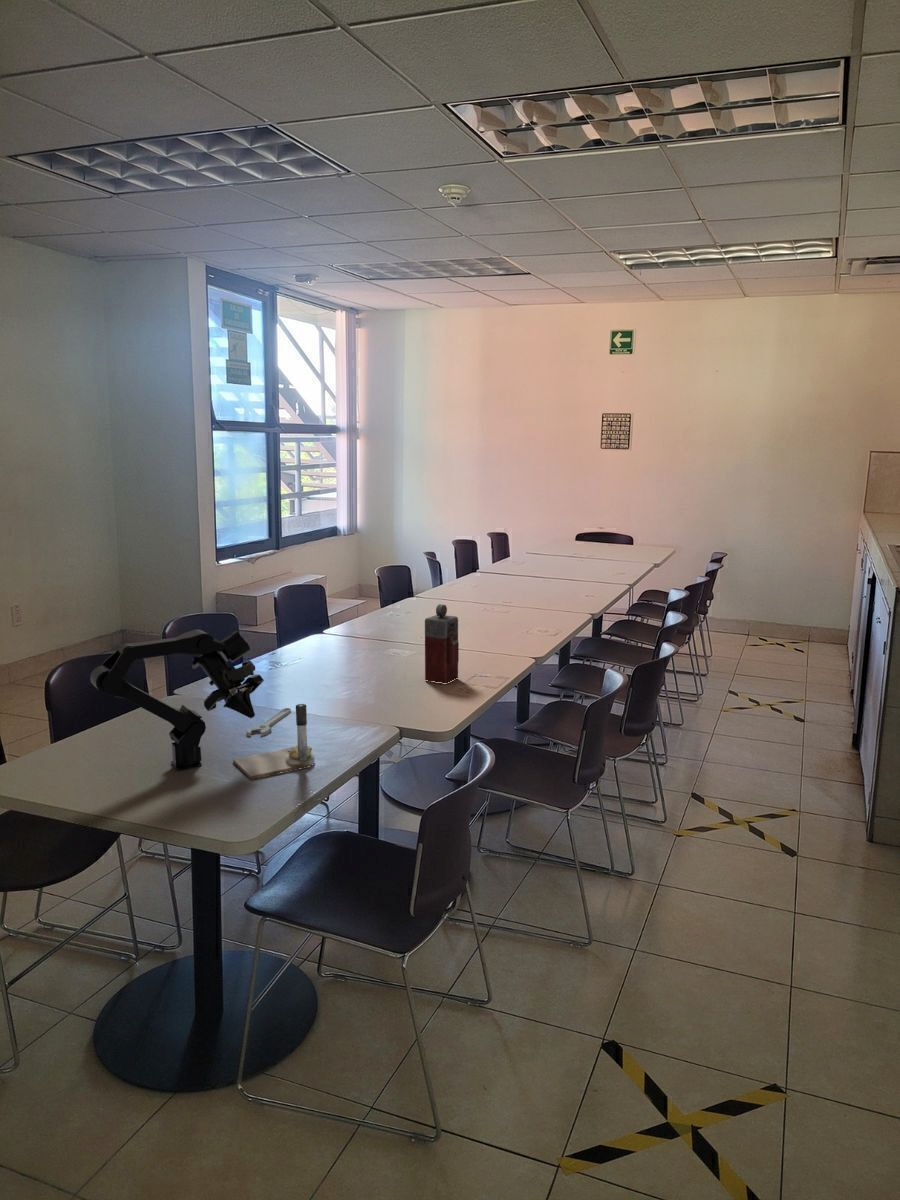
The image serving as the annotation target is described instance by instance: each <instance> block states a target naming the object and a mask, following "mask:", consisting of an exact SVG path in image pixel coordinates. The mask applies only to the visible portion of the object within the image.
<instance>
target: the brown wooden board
mask: <svg viewBox="0 0 900 1200" xmlns="http://www.w3.org/2000/svg"><path fill="white" fill-rule="evenodd" d="M289 748H290V747H288V748H283V749H279V750H273V751H269V752H263V753H259V754H254V755H248V756H244V757H239V758H235V759H232V761H233V762H232V763H233V764H234V766H236V767H237V769H239V770H240V771H241V772H242V771H243V772H244V773H245V774H244V773H243V772H242V773H243V774H244V775H245V776H246V777H248V779H249V780H251V779H253V780H256V779H255V778H258V779H261V778H260V777H262V778H265V777H264V776H267V777H269V776H268V775H272V776H274V775H273V774H276V775H278V774H277V773H280V772H285V773H287V772H286V771H290V770H294V771H296V770H295V769H299V768H304V767H308V766H311V765H312V764H314V765H315V763H316V762H315V754H314V752H313V753H312V752H311V756H310V757H309V758H307V760H301V761H300V760H299V759H291V758H289V752H288V750H289ZM314 762H315V763H314ZM311 767H312V766H311ZM308 768H309V767H308ZM304 769H305V768H304ZM299 770H300V769H299ZM290 772H291V771H290Z"/></svg>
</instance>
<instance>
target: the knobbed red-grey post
mask: <svg viewBox="0 0 900 1200" xmlns="http://www.w3.org/2000/svg"><path fill="white" fill-rule="evenodd" d="M447 611H448V607H447V605H445V604H440V603H439V604H437V606H436V608H435V615H432V616H429V617H426V618H425V619H424V681H425V680H428V681H435V682H442V683H448V682H450V681H452V680H454V679H456V678H458V679H459V658H460V657H459V655H460V654H459V653H460V651H459V650H460V649H459V644H460V643H459V617H457V616H454V615H447V613H448V612H447Z"/></svg>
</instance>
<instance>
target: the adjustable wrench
mask: <svg viewBox="0 0 900 1200" xmlns="http://www.w3.org/2000/svg"><path fill="white" fill-rule="evenodd" d="M290 713H292V709H291V708H290V707H286V708H282V709H281V710H279V711H278V712H277V713H276V714H273V716H271V717H269V718H268V719H266V721H264V722H262V724H258V725H255V726H252V727H249V728H247V729H246V736H247V737H249V736H251V737H252V735H253V734H260V737H264V735H265V736H267V735H269V734H270V733H272V726H274V725H275V724H277V723H278V722H279V721H281V720H282V719H284V718H285V717H286V716H288V715H290ZM268 733H269V734H268ZM251 734H252V735H251Z"/></svg>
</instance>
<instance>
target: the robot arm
mask: <svg viewBox="0 0 900 1200" xmlns="http://www.w3.org/2000/svg"><path fill="white" fill-rule="evenodd" d="M249 652H251V648H250V645H249V643H248V642H247V641H246V640H245V639H244V637H243V636H242V635H241V634H240V632H239V631H237V630H235V631H232V632H231V633H230V634H229V635H227V636H226V637H224V638H222V639H221V640H218V639H216V638H213V636H212V635H211V634H209V633H207V632H205V631H203V630H201V629H193V630H190V631H186V632H183V633H182V634H180V635H178V636H174V637H169V638H163V639H155V640H148V641H140V642H135V643H134V642H133V643H125V642H124V643H122V644H121V645H120V646H119V647H118V648H117V649H116V650H115V652H113V653H112V654H111V655H110V656H109V657H107V658H106V659H105V660H104V661H103V663H102V664H101V665H100V666H97V667H95V668H94V669H93V670H92V672H91V673H90V677H89V679H90V683H91V684H92V685H93V686H94V687H95V688H96V689H97V690H98V691H99V692H101V693H102V694H105V695H109V696H112V697H115V698H121V699H124V700H126V701H128V702H130V703H132V704H134V705H135V706H138V707H140V708H142V709H143V710H145V711H147V712H150V713H151V714H153V715H154V716H156V717H158V718H161V720H162V719H163V720H165V721H166V722H168V723H169V724H171V725H173V726H174V727H173V728H172V729H171V730H170V731H169V733H168V735H169V737H170V739H171V741H172V743H171V754H172V756H171V757H172V761H170V763H171V765H172V766H173V767H174V769H176V770H177V771H182V770H186V769H191V768H196V767H201V766H202V763H201V761H202V748H201V746H200V742H201V739H202V737H203V735H204V734H205V732H206V728H207V726H206V723H205V722H206V721H204V720H203V719H202V718H203V716H202V715H201V714H199V713H198V712H196V711H195V710H193V709H190V708H188V707H187V706H185V705H183V704H181V706H180V708H176V707H174V706H171V705H169V704H168V703H166V702H164V701H162V700H160V699H158V698H156V697H155V696H152V695H151V694H149V693H147V692H145V691H143V690H141V689H140V688H138V687H136V686H135V685H133V684H131V683H129V681H127V680H126V679H124V677H125V676H126V675H127V673H128V671H129V669H130V668H131V666H132V664H133V663H134V662H135V661H136V660H143V659H152V658H156V657H157V658H158V657H165V656H170V655H177V654H184V655H193V657H192V663H191V666H192V667H191V668H192V669H193V670H195V669H197V668H198V667H201V668H202V670H203V671H204V672H205V674H206V675H207V677H208V678H209V679H210V681H209V682H208V683H209V685H210V686H214V687H216V689H215V690H212V691H211V693H210V694H209V695H208V696H207V697H206V698H205V699H204V700H203V706H204V708H205V709H206V711H207V712H210V711H212V710H215V709H217V703H218V702H221V701H224V704H223V706H222V707H223V708H228V709H230V710H232V711H235V712H237V713H239V714H242V715H243V716H244V717H245V716H246V717H247V718H249V719H253V718H254V717H256V714H255V710H254V707H253V704H252V700H251V696H250V695H251V694H252V693H254V692H255V691H256V690H257V689H258V688H259V687H260V685H261V684H263V682H264V681H265V680H264V678H263V677H262V676H261V675H260V674H255V673H254V672H255V671H256V665H255V664H254V663H253V662H252V661H251V659H249V660H246V661H244V662H242V663H241V666H240V667H237V668H236V667H235V666H233V665H230V666H229V665H228V664H227V662H231V663H234V662H235V661H237V660H239V659H240V658H241V657H243V656H245V655H247V654H248V653H249ZM195 655H196V656H195ZM197 655H198V656H197Z"/></svg>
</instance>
